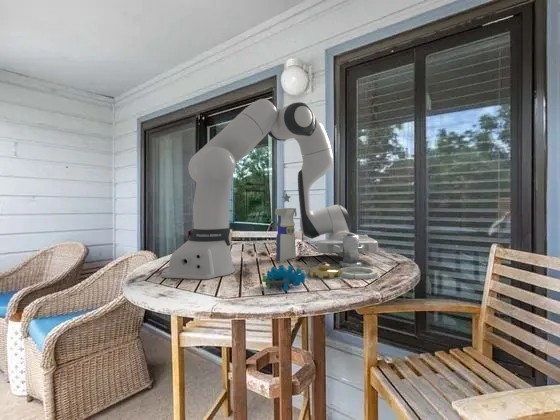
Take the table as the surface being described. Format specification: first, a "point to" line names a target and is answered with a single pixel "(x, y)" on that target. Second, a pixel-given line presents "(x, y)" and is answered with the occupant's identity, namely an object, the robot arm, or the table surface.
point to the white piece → (285, 233)
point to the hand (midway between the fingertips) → (351, 250)
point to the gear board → (341, 273)
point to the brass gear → (324, 271)
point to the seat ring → (358, 276)
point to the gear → (284, 277)
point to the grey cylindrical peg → (350, 251)
